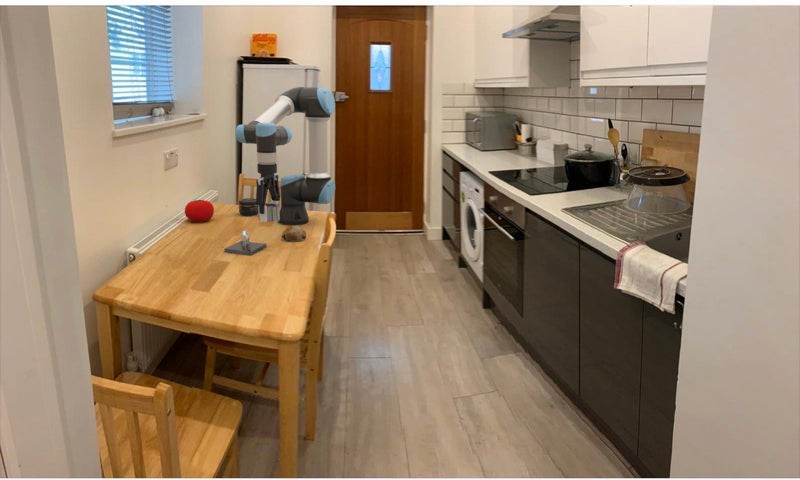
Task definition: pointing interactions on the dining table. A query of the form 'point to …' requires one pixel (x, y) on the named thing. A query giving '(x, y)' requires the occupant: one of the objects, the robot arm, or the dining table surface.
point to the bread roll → (294, 234)
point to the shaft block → (245, 246)
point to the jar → (248, 207)
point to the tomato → (199, 210)
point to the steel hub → (271, 212)
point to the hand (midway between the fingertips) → (269, 218)
